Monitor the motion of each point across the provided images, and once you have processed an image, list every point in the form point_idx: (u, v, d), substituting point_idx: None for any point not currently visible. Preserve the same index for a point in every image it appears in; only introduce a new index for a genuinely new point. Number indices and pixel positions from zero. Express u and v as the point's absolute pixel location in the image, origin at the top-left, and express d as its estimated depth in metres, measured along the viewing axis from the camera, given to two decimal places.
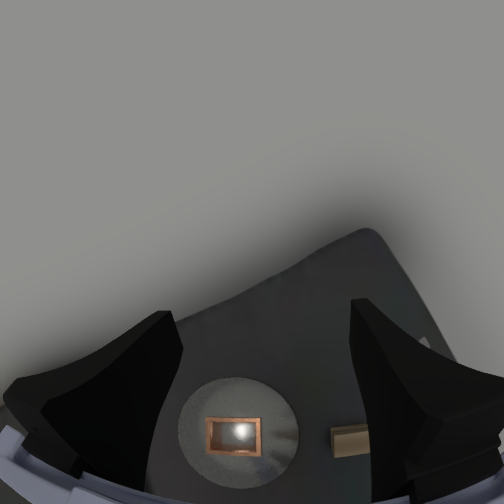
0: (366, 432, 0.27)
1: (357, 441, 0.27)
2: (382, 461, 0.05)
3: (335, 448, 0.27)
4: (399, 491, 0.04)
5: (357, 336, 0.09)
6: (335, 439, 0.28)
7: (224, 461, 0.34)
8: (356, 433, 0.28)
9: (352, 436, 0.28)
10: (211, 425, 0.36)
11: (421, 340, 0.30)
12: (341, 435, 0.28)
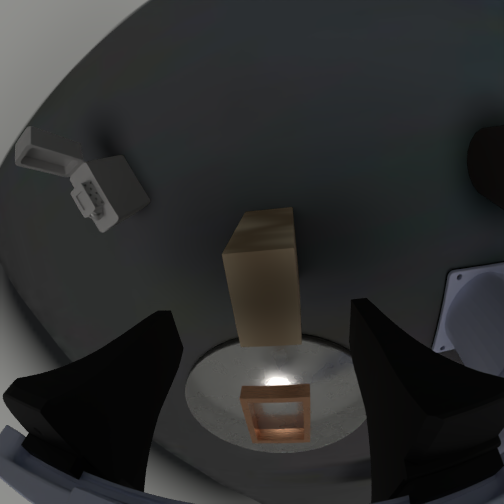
0: (230, 276, 0.12)
1: (258, 297, 0.13)
2: (382, 461, 0.05)
3: (275, 344, 0.14)
4: (400, 491, 0.04)
5: (357, 336, 0.09)
6: (250, 344, 0.14)
7: (324, 418, 0.24)
8: (233, 300, 0.13)
9: (242, 309, 0.13)
10: (265, 434, 0.25)
11: (15, 156, 0.11)
12: (240, 332, 0.14)
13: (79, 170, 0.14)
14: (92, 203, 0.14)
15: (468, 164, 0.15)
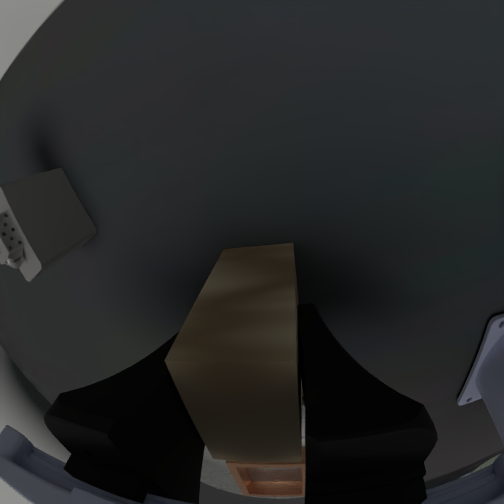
0: (183, 390, 0.07)
1: (232, 418, 0.07)
2: None
3: (262, 460, 0.08)
4: None
5: None
6: (226, 458, 0.08)
7: None
8: (195, 416, 0.07)
9: (210, 428, 0.07)
10: (258, 487, 0.19)
11: None
12: (210, 446, 0.08)
13: None
14: (5, 246, 0.08)
15: None
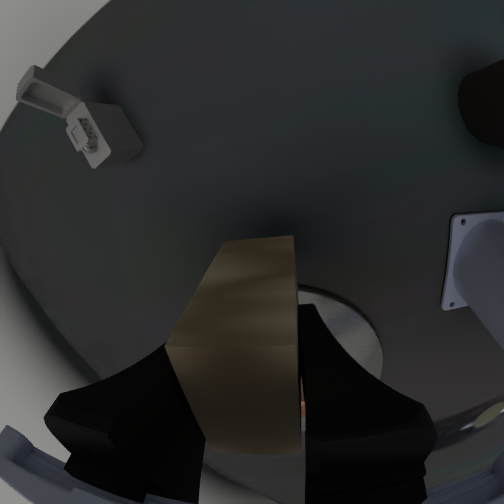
0: (183, 378, 0.07)
1: (232, 406, 0.07)
2: None
3: (262, 452, 0.08)
4: None
5: (299, 342, 0.10)
6: (225, 450, 0.08)
7: None
8: (194, 405, 0.07)
9: (209, 417, 0.07)
10: None
11: (17, 92, 0.10)
12: (209, 437, 0.08)
13: (76, 110, 0.13)
14: (86, 135, 0.13)
15: (460, 107, 0.14)
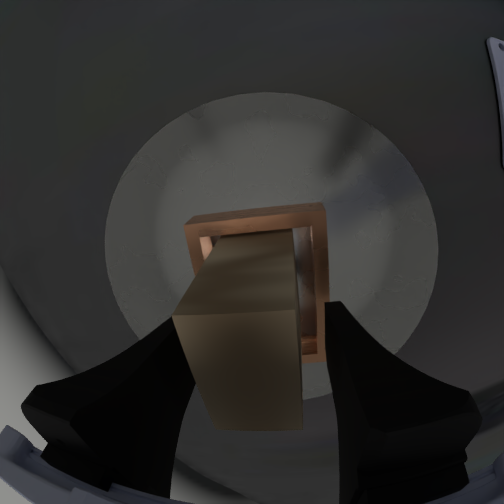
0: (188, 348, 0.07)
1: (235, 377, 0.07)
2: (345, 467, 0.06)
3: (264, 429, 0.08)
4: (358, 500, 0.04)
5: (328, 339, 0.09)
6: (229, 428, 0.09)
7: (353, 308, 0.14)
8: (198, 378, 0.08)
9: (213, 390, 0.08)
10: None
11: None
12: (212, 414, 0.08)
13: None
14: None
15: None
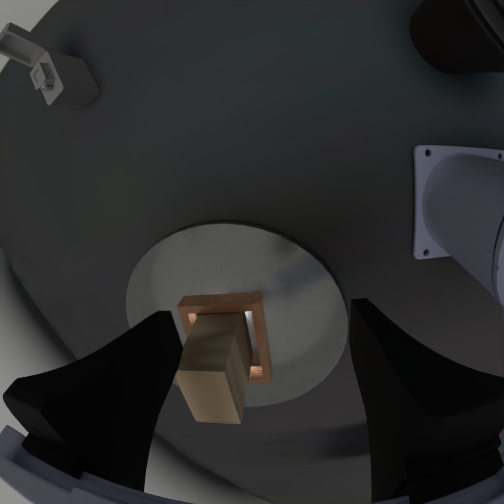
0: (180, 383, 0.15)
1: (202, 396, 0.15)
2: (382, 461, 0.05)
3: (221, 422, 0.16)
4: (399, 492, 0.04)
5: (357, 336, 0.09)
6: (202, 420, 0.16)
7: (287, 351, 0.22)
8: (185, 395, 0.16)
9: (193, 401, 0.16)
10: None
11: None
12: (194, 413, 0.16)
13: (41, 58, 0.12)
14: (44, 75, 0.12)
15: (412, 37, 0.13)
